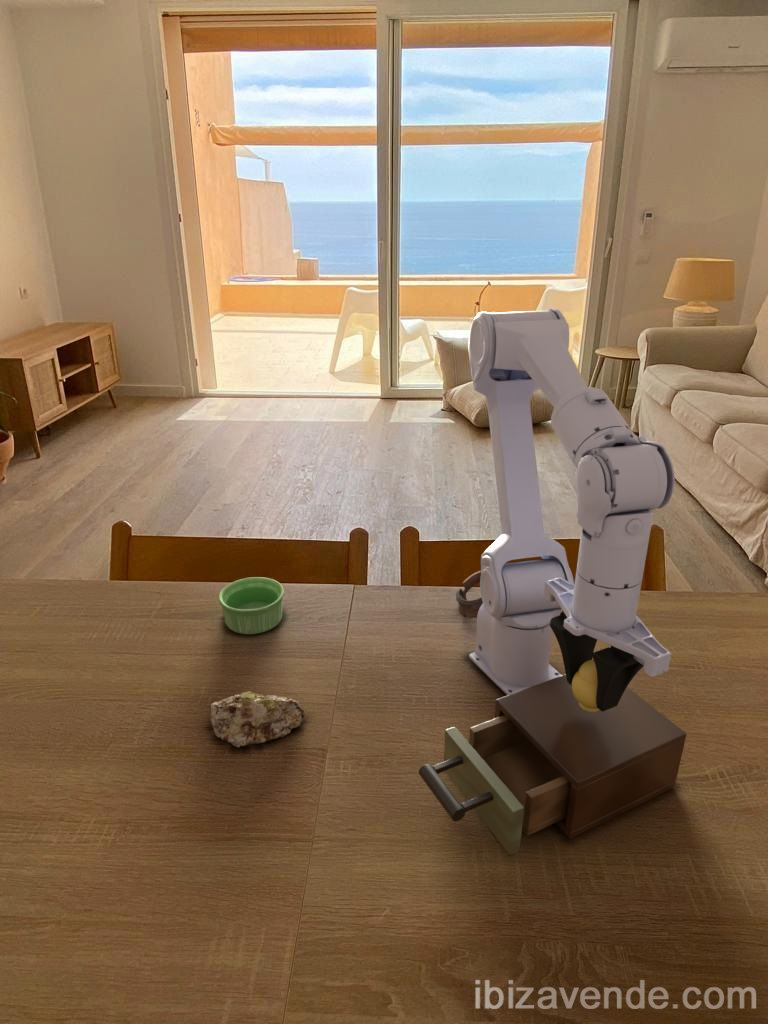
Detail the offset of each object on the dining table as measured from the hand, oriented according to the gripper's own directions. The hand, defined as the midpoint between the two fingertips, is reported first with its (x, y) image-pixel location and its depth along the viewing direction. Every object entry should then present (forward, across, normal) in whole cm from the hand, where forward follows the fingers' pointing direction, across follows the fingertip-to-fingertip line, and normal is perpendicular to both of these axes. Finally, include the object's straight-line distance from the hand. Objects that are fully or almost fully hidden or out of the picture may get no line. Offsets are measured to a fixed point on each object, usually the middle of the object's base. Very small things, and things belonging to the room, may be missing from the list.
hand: (591, 693), depth 68 cm
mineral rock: (+10, -22, -28) cm, 37 cm away
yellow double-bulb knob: (+1, 0, 0) cm, 1 cm away
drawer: (+9, 0, -9) cm, 13 cm away
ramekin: (+10, -43, -22) cm, 49 cm away
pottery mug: (+10, -28, +9) cm, 31 cm away
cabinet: (+10, 0, 0) cm, 10 cm away
